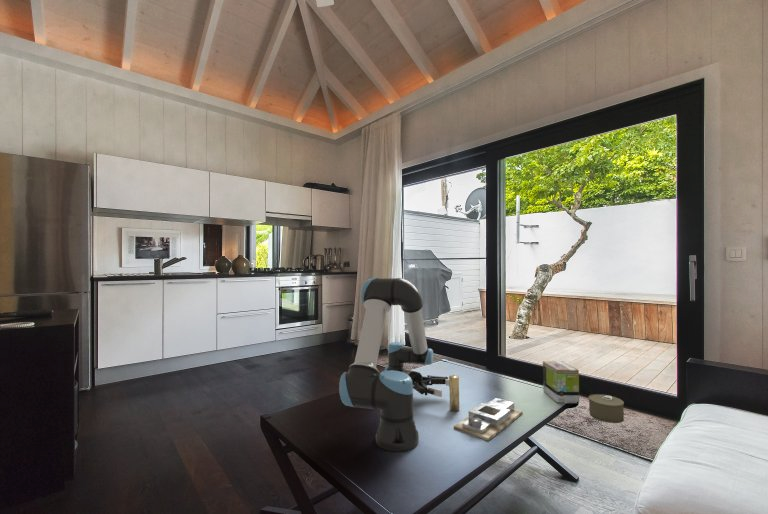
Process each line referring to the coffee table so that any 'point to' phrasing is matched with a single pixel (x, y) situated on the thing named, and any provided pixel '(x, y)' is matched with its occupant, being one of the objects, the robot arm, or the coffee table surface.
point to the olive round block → (606, 408)
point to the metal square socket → (488, 415)
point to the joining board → (493, 430)
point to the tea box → (561, 381)
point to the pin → (454, 392)
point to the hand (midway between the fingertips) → (450, 389)
